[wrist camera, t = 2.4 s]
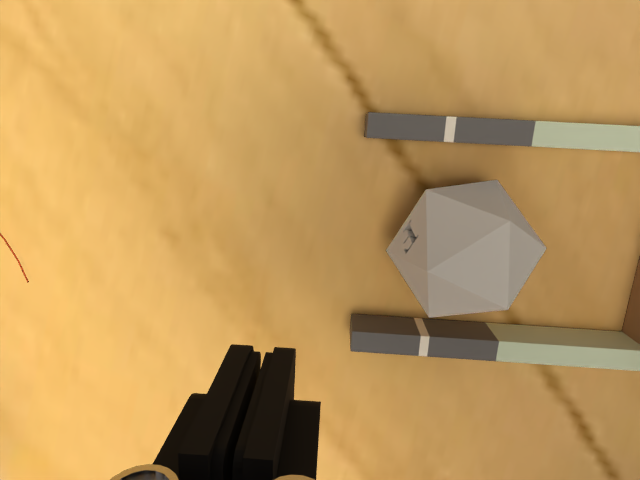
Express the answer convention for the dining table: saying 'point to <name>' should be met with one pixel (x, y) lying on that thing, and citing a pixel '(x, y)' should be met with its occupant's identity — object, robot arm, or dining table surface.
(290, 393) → the robot arm
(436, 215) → the die
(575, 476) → the dining table surface
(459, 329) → the trap lane
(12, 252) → the figurine
